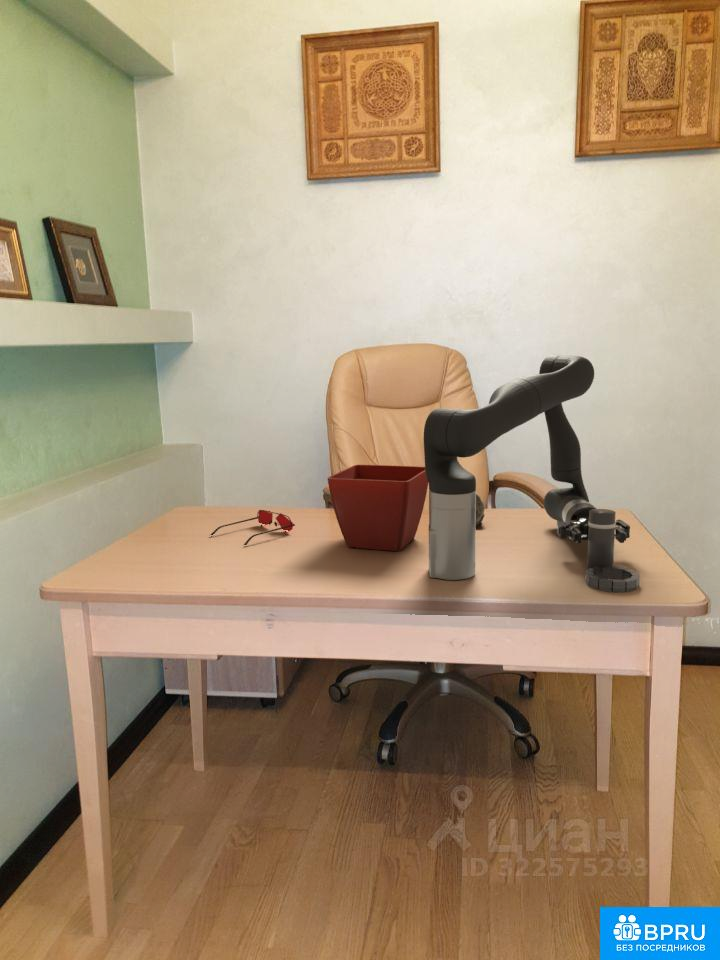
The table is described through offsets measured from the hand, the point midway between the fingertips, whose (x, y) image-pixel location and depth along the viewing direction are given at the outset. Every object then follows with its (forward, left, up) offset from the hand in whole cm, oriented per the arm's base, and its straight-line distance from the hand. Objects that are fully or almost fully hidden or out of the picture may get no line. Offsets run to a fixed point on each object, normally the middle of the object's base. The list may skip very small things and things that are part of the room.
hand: (601, 538), depth 152 cm
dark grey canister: (0, 0, -7) cm, 6 cm away
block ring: (0, -9, -7) cm, 11 cm away
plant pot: (-45, +20, -7) cm, 50 cm away
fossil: (-25, +37, -7) cm, 45 cm away
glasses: (-77, +27, -7) cm, 82 cm away
